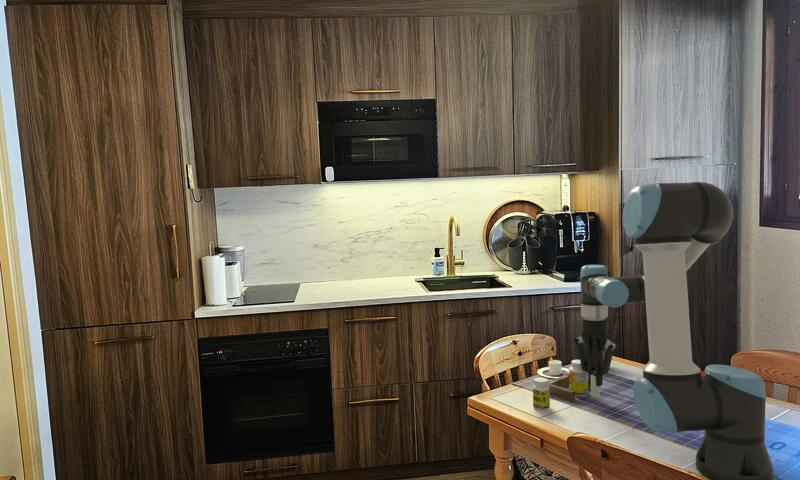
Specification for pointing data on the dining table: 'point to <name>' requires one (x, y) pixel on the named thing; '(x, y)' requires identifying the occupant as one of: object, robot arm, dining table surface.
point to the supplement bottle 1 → (541, 394)
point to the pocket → (560, 391)
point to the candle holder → (553, 369)
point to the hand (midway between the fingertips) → (595, 395)
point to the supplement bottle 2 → (578, 379)
